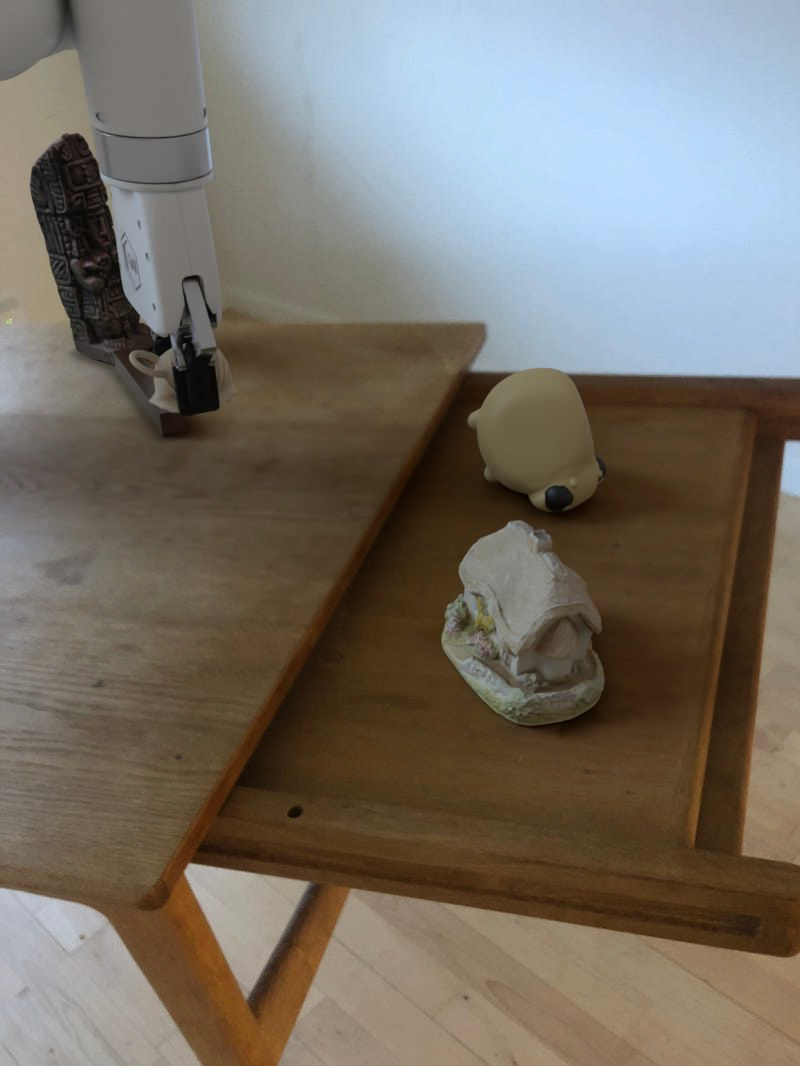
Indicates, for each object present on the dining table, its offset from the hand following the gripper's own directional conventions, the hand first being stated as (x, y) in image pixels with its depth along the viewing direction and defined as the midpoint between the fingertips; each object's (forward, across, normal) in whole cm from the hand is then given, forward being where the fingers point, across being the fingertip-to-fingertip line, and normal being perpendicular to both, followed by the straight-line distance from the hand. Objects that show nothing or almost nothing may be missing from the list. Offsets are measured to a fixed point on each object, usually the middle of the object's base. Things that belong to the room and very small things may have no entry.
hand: (189, 397), depth 77 cm
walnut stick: (+7, -14, 0) cm, 15 cm away
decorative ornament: (+1, 0, 0) cm, 1 cm away
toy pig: (+7, +15, +25) cm, 30 cm away
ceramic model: (+7, +33, +12) cm, 35 cm away
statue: (+7, -26, 0) cm, 27 cm away
